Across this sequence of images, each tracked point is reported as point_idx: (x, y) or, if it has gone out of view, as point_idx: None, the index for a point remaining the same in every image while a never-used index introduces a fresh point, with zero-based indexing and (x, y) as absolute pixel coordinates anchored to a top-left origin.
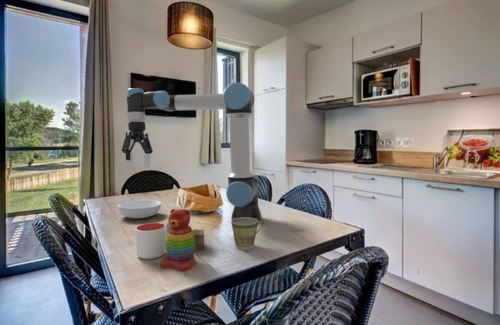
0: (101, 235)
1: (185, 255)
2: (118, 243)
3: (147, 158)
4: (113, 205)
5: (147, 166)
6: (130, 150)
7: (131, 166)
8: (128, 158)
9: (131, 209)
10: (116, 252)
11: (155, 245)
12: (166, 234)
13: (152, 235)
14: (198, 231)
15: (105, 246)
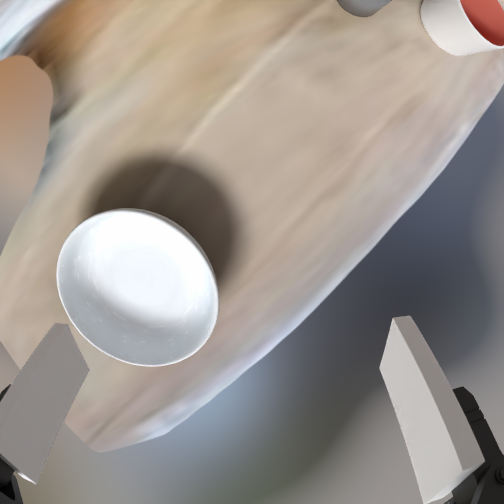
0: (373, 241)
1: None
2: (418, 143)
3: (32, 410)
4: (100, 416)
5: (74, 347)
6: (498, 493)
7: (413, 328)
8: (474, 401)
9: (214, 275)
10: (460, 111)
11: (474, 5)
12: (383, 6)
13: (493, 5)
14: None
15: (440, 164)
